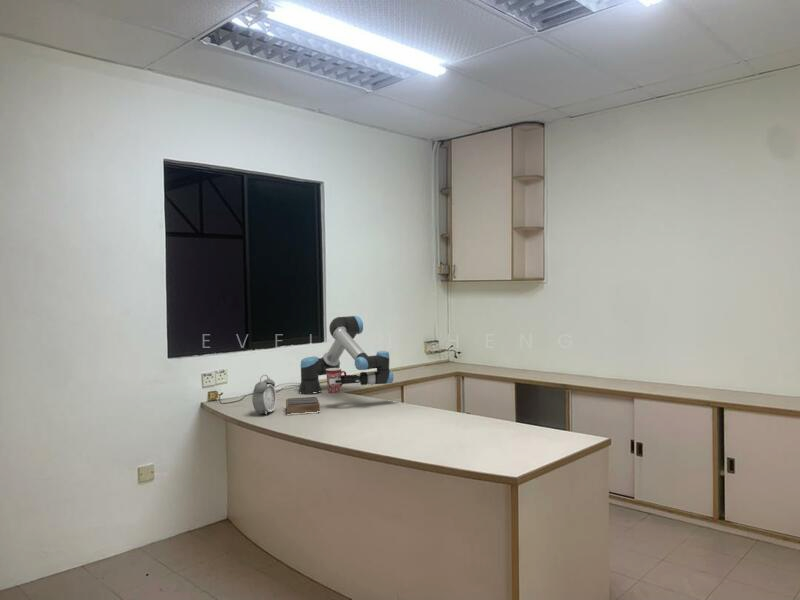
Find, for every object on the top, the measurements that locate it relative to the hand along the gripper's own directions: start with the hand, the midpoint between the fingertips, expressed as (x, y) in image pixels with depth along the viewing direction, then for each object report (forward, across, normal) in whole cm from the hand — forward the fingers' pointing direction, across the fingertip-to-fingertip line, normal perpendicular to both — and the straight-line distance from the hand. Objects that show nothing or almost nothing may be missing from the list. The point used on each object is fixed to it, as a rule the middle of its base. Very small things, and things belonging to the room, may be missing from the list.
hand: (328, 380), depth 323 cm
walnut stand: (+15, -3, -16) cm, 23 cm away
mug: (-5, 0, -7) cm, 9 cm away
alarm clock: (+36, -4, -17) cm, 40 cm away
